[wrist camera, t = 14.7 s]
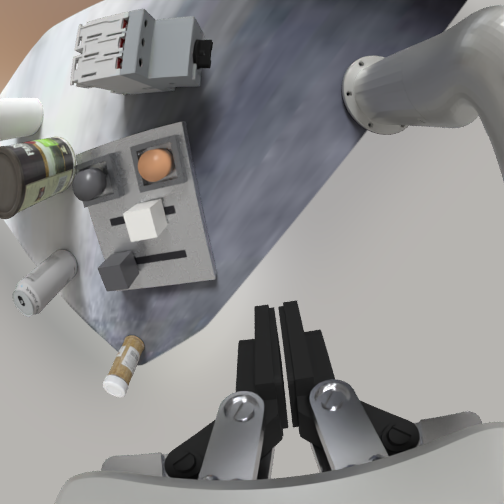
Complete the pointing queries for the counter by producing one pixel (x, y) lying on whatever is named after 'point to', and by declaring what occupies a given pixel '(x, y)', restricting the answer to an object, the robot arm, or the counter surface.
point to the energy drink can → (44, 282)
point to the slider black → (119, 271)
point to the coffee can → (34, 173)
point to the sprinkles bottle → (123, 367)
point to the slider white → (145, 220)
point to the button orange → (155, 164)
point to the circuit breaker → (140, 53)
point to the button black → (89, 184)
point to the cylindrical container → (19, 117)
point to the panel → (140, 190)
